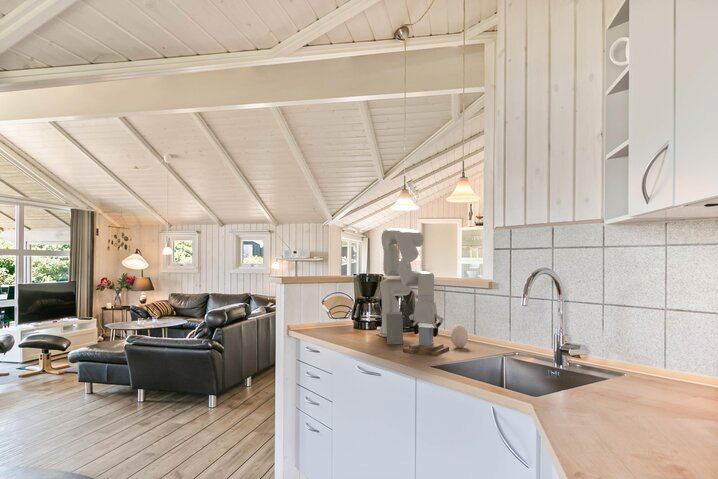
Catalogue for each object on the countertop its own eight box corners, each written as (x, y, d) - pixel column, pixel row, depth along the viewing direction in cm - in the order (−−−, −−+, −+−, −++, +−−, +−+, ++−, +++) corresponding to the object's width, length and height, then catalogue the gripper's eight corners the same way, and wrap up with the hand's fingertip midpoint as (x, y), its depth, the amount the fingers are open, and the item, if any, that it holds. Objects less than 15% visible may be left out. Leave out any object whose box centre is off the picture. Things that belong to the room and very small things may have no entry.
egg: (449, 348, 212) (449, 324, 212) (453, 345, 219) (453, 322, 219) (465, 350, 208) (465, 325, 209) (469, 347, 215) (469, 323, 216)
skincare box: (403, 342, 227) (403, 311, 227) (403, 345, 220) (403, 313, 220) (386, 342, 228) (386, 311, 228) (386, 344, 221) (386, 312, 221)
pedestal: (402, 351, 204) (402, 345, 204) (418, 346, 217) (418, 340, 217) (434, 356, 195) (434, 349, 195) (449, 350, 208) (449, 343, 208)
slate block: (418, 344, 206) (418, 327, 206) (423, 343, 210) (423, 326, 210) (428, 346, 203) (428, 328, 203) (433, 344, 207) (433, 327, 207)
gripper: (405, 297, 209) (405, 334, 209) (439, 300, 199) (439, 338, 199) (413, 296, 215) (413, 331, 215) (446, 299, 205) (446, 336, 205)
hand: (425, 335), depth 207 cm, fingers open, 9 cm apart
